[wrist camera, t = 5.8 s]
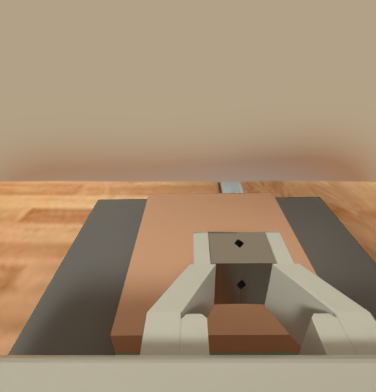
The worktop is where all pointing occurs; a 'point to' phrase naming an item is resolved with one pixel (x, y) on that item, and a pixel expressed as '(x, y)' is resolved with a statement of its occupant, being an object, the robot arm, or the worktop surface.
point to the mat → (120, 260)
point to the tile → (183, 256)
